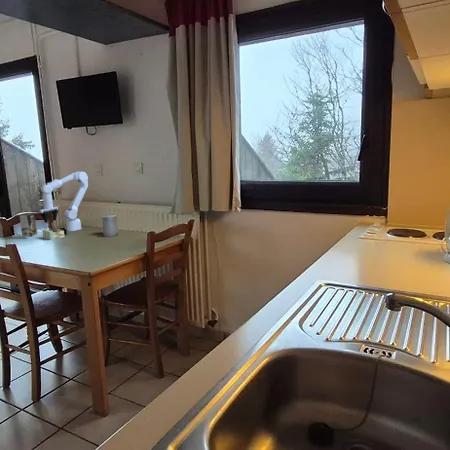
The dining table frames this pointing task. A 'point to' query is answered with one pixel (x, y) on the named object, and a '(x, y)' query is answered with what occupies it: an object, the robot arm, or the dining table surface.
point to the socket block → (58, 234)
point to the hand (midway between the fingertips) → (50, 221)
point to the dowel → (54, 227)
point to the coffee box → (28, 225)
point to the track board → (48, 234)
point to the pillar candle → (110, 225)
